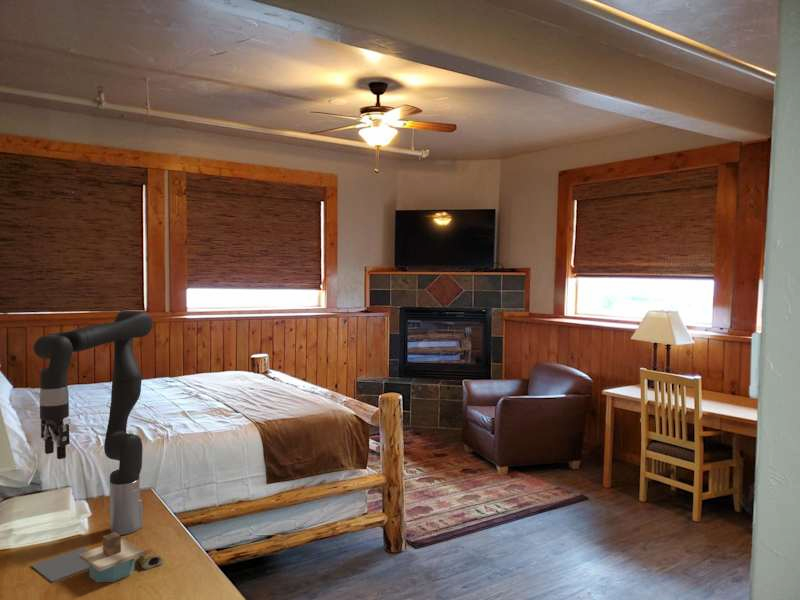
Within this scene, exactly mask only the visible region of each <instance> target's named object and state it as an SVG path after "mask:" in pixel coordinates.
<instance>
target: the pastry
mask: <svg viewBox="0 0 800 600" xmlns="http://www.w3.org/2000/svg"><path fill="white" fill-rule="evenodd" d="M143 550H144V551H145V554H144V555H141V556H139V557H138V563H139V564H140V565H141V568H142V569H143V570H148V569H153V568H154V567H158V566H161V565H162V564H163V563H164V561H165V557H164V554H163V553H161V552H160V550H156V549H143Z"/></svg>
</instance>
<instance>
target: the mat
mask: <svg viewBox="0 0 800 600" xmlns="http://www.w3.org/2000/svg"><path fill="white" fill-rule="evenodd" d="M86 551H89V550H88V549H87V548H85V547H80V548H78V549H75V550H72V551H68V552H65V553H63V554H59V555H57V556H55V557H51V558H48V559H46V560H42V561H39V562H36V563H34V564H31V565H30V567H31V566H32V567H33V568H34V570H35V571H36V570H37V571H38V572H37V571H36V572H37V573H38V574H40V575H41V576H42V577H44V578H45V579H46V580H48V581H49V582H50V583H52V584H53V583H55V582H58V581H61V580H63V579H66V578H69V577H72V576H75V575H77V574H80V573H81V572H85V571H87V570H88V571H89V570H90V567H89V564H88V563H87V562H85V561H84V560H82V559H81V558H79V554H81V553H83V552H86ZM32 567H31V568H32ZM33 568H32V569H33Z"/></svg>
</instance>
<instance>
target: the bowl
mask: <svg viewBox="0 0 800 600" xmlns="http://www.w3.org/2000/svg"><path fill="white" fill-rule="evenodd" d="M135 560H136V558H134V559H131V560H128V561H126V562H123V563H120V564H118V565H115V566H113V567H110V568H107V569H105V570H102V571H99V570H97V569H96V568H94V567H93V566H91V565H90V564H89V567H90V569H89V578H90V579H91V580H93V581H95V582H96V583H111V582H113V583H114V582H116V581H119V580H121V579H125V578H126V577H129V576H130V575H131V574H132V572H133V571H134V570H135V568H136V565H135V564H136V562H135Z"/></svg>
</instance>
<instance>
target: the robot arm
mask: <svg viewBox="0 0 800 600" xmlns="http://www.w3.org/2000/svg"><path fill="white" fill-rule="evenodd" d="M153 326H154V325H153V319H152V317H151V315H150V314H149V313H147V312H145V311H139V310H122V311H120V312H118V313H117V315H116V317H115V318H114V321H113V322H108V323H107V322H106V323H100V324H94V325H93V324H92V325H87V326H83V327H80V328H76V329H73V330H71V331H70V330H69V331H64V332H56V333H55V332H54V333H50V334H46V335H42V336H41V337H39V338H38V339H36V341H35V342H34V345H33V353H34V354H35V355H36V356H37V357H39V358H40V359H44V360H49V364H48V366H47V367H44V368H42V369H41V371H40V374H39V375H40V376H39V381H40V382H39V383H40V385H39V387H40V389H39V419H40V438H41V439H43V442H44V453H45V454H46V455H49V454H53V453H54V452H55V449H54V448H55V447H54V444H56V459H58V460H63V459H65V458H67V450H66V449H67V445H70V443H71V442H70V425H69V423H64V419H67V418H68V417H69V416H70V405H69V404H70V399H69V397H70V395H69V394H70V393H69V389H68V388H69V387H68V373H69V372H68V371H69V368H70V364H71V361H72V357H73V353H78V352H84V351H86V350H89V349H93V348H95V347H100V346H103V345H105V344H109V343H113V342H114V343H113V344H114V345H113V347H114V351H113V352H114V354H113V371H112V380H111V395H110V396H111V398H110V407H109V413H108V414H109V415H108V416H109V417H108V423H107V428H106V432H105V437H104V444H103V447H104V448H103V449H104V450H103V451H104V454H105V456H106V458H108V459H110V460H114V461H119V468H118V469H115V470H113V471H112V472H111V473H110V475H109V503H110V504H109V505H110V506H109V509H110V513H109V514H110V517H109V518H110V528H109V529H110V534H111V533H114V532H116V533H117V534H119V535H121V536H122V535H129V534H133V533H135V532H136V531H138V530H140V528H143V526H144V525H143V519H144V518H143V517H144V516H143V499H141V496H140V495H141V494H140V493H141V491H140V490H141V487H140V483H141V482H140V481H141V480H140V476H141V475H140V474H141V471H142V467H143V451H144V450H143V441H142V438H141V437H140V436H139V435H137V434H135V433H127V427H128V420H129V419H128V418H129V416H130V414H131V412H132V410H133V409H134V407H135V406H136V404H137V402H138V401H139V398H140V396H141V392H142V380H143V379H142V378H143V377H142V376H143V375H142V372H141V368H140V366H139V364H138V362H137V359H136V357H135V353H134V338H136V339H138V338H144V337H146V336H147V335H148V334H150V332H151V331H152V329H153ZM54 442H55V443H54Z"/></svg>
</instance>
